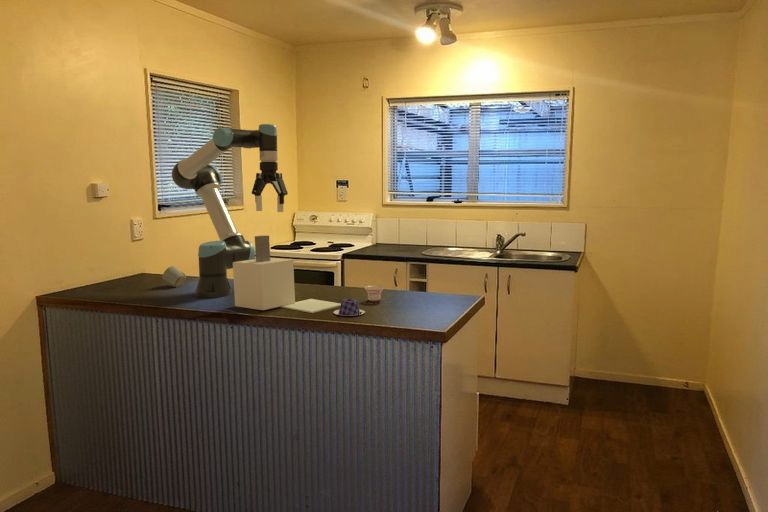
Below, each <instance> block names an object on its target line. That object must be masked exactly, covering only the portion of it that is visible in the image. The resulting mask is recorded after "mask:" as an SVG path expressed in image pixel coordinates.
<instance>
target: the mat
mask: <svg viewBox="0 0 768 512" xmlns="http://www.w3.org/2000/svg"><path fill="white" fill-rule="evenodd" d="M340 305H341V302H340V303H339V302H333V301H326V300H323V299H321V300H320V299H314V298H309V299H304V300H299V301H295V303H293V304H289V305H284V306H280V307H279V308H281V309H286V310H293V311H297V312H305V313H310V314H315V313H319V312H323V311H327V310H331V309H335V308H338V307H339V308H340Z"/></svg>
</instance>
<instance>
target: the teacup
mask: <svg viewBox="0 0 768 512" xmlns="http://www.w3.org/2000/svg"><path fill="white" fill-rule="evenodd" d="M364 290H365V291H366V293H367V300H368V301H369V302H368V304H372V302H379V301H381V299H382V297H381V295H382V292H383V291H384V286H382V285H380V286H379V285H368V286H365V287H364ZM370 302H371V303H370ZM362 303H364V304H365V302H362ZM376 304H378V303H376Z"/></svg>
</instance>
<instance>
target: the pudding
mask: <svg viewBox="0 0 768 512" xmlns="http://www.w3.org/2000/svg"><path fill="white" fill-rule="evenodd" d="M340 304H341V305H340V306H339V309H336V310H334V311H333V314H334V315H338V316H343V317H344V316H345V317H353V316H360V315H363V314H365V313H366V311H365V310H363V309H361V308H359V303H358V301H357V299H354V298H347V299H342V301H341V302H340ZM360 312H362V313H361V314H360ZM358 314H359V315H358Z"/></svg>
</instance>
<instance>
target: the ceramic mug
mask: <svg viewBox="0 0 768 512" xmlns="http://www.w3.org/2000/svg"><path fill="white" fill-rule="evenodd" d="M161 278H162V280H164V281H165V282H167V283H168V284H170V285H171V286H172V287H174V288H178V286H179V287H180V286H181V285H182V284H184V283H185V281H186V278H187V275H186V274H185V273H184V272H183V271H181V270H179V269H178V268H176V267H175V265H171V266H169V267H167V268H166V269H165V271H164V272H163V273H162V277H161Z"/></svg>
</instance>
